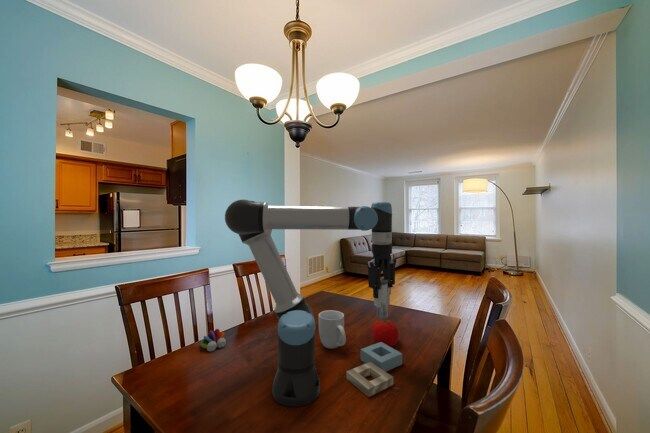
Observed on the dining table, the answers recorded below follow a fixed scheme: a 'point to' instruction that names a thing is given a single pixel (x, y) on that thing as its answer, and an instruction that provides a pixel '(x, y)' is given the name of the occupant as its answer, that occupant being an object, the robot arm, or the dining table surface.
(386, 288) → the pin
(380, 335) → the tomato
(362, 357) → the socket
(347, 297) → the dining table surface
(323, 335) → the mug
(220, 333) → the multicoloured knobbly toy
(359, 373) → the beige square frame
